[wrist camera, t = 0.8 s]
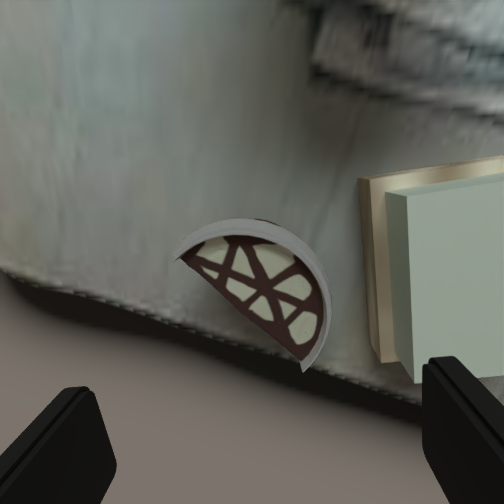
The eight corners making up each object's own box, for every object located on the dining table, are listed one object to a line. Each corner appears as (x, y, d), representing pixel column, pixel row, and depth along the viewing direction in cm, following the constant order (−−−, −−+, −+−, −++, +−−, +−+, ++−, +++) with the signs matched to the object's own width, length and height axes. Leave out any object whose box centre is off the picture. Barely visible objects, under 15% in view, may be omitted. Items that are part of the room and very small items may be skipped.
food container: (344, 267, 29) (380, 317, 19) (297, 310, 30) (309, 377, 20) (245, 175, 27) (230, 179, 17) (201, 225, 28) (165, 255, 19)
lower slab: (502, 154, 26) (543, 152, 22) (495, 325, 30) (528, 349, 26) (356, 177, 27) (369, 179, 23) (367, 338, 31) (381, 363, 27)
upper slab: (528, 168, 22) (581, 168, 18) (518, 339, 26) (561, 370, 22) (385, 191, 23) (406, 196, 19) (394, 352, 27) (414, 383, 23)
